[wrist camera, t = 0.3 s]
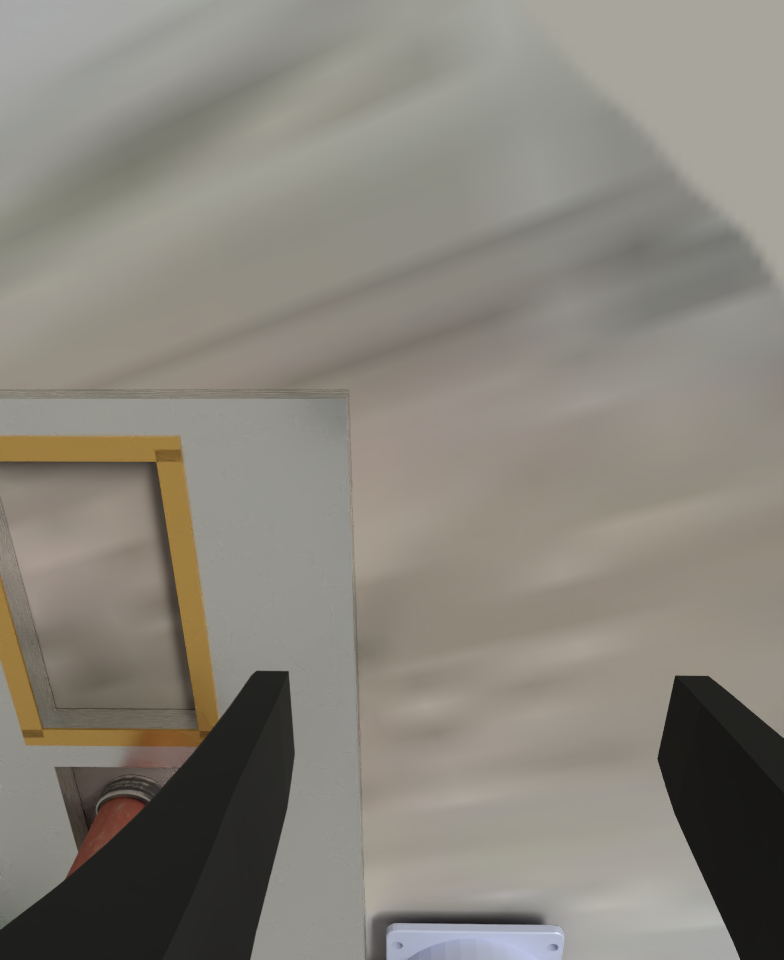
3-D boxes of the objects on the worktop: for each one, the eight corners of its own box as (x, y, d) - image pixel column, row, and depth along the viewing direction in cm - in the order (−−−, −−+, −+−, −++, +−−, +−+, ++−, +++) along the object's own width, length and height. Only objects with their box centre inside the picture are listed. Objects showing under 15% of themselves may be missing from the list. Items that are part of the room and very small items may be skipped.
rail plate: (366, 952, 32) (365, 977, 31) (-3, 947, 32) (-16, 972, 31) (348, 389, 21) (346, 400, 20) (-216, 389, 21) (-247, 399, 20)
